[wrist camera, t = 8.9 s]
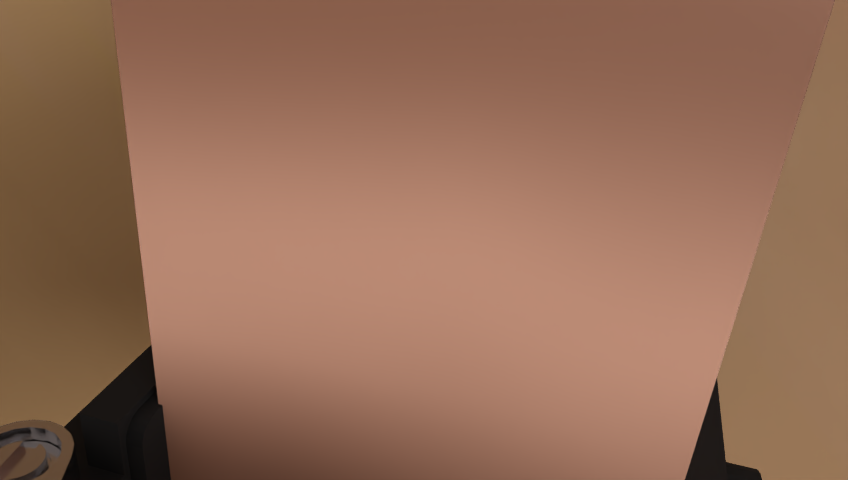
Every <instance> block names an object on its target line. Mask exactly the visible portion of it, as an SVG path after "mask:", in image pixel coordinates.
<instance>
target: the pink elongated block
mask: <svg viewBox="0 0 848 480" xmlns="http://www.w3.org/2000/svg"><path fill="white" fill-rule="evenodd" d="M834 2H835V0H111V5H112V14H113V22H114V31H115V39H116V48H117V56H118V65H119V73H120V82H121V90H122V99H123V107H124V116H125V124H126V133H127V141H128V150H129V158H130V167H131V175H132V184H133V192H134V201H135V209H136V218H137V226H138V235H139V243H140V252H141V260H142V269H143V277H144V286H145V294H146V303H147V311H148V320H149V328H150V337H151V345H152V354H153V362H154V371H155V379H156V388H157V396H158V404H160V405H162V406H163V415H164V423H165V432H166V441H167V450H168V458H169V467H170V476H171V480H685V477H686V474H687V471H688V468H689V465H690V462H691V458H692V455H693V452H694V449H695V446H696V442H697V439H698V436H699V433H700V430H701V426H702V423H703V420H704V417H705V414H706V410H707V407H708V404H709V401H710V398H711V394H712V391H713V388H714V385H715V382H716V379H717V375H718V372H719V369H720V366H721V363H722V359H723V356H724V353H725V350H726V347H727V343H728V340H729V337H730V334H731V331H732V327H733V324H734V321H735V318H736V315H737V311H738V308H739V305H740V302H741V299H742V295H743V292H744V289H745V286H746V283H747V280H748V276H749V273H750V270H751V267H752V264H753V260H754V257H755V254H756V251H757V248H758V244H759V241H760V238H761V235H762V232H763V228H764V225H765V222H766V219H767V216H768V212H769V209H770V206H771V203H772V200H773V197H774V193H775V190H776V187H777V184H778V181H779V177H780V174H781V171H782V168H783V165H784V161H785V158H786V155H787V152H788V149H789V145H790V142H791V139H792V136H793V133H794V129H795V126H796V123H797V120H798V117H799V113H800V110H801V107H802V104H803V101H804V98H805V94H806V91H807V88H808V85H809V82H810V78H811V75H812V72H813V69H814V66H815V62H816V59H817V56H818V53H819V50H820V46H821V43H822V40H823V37H824V34H825V30H826V27H827V24H828V21H829V18H830V15H831V11H832V8H833V5H834Z"/></svg>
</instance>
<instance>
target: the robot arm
mask: <svg viewBox="0 0 848 480" xmlns="http://www.w3.org/2000/svg"><path fill="white" fill-rule="evenodd" d="M0 480H171V476H170V467H169V458H168V450H167V441H166V432H165V423H164V415H163V406H162V405H160V404H158V396H157V388H156V379H155V371H154V362H153V354H152V345H151V346H150V347H148V348H147V349H146V350H145V351H144V352H143V353H142V354H141V355H140V356H139V357H138V358H137V359H136V360H135V361H134V362H133V363H131V364H130V365H129V366H128V367H127V368H126V369H125V370H124V371H123V372H122V373H121V374H120V375H119V376H118V377H117V378H116V379H114V380H113V381H112V382H111V383H110V384H109V385H108V386H107V387H106V388H105V389H104V390H103V391H102V392H101V393H100V394H99V395H97V396H96V397H95V398H94V399H93V400H92V401H91V402H90V403H89V404H88V405H87V406H86V407H85V408H84V409H83V410H82V411H80V412H79V413H78V414H77V415H76V416H75V417H74V418H73V419H72V420H71V421H70V422H69V423H68V424H67V425H66V426H65V427H63V426H61V425H59V424H56V423H53V422H51V421H42V420H28V421H18V422H14V423H10V424H7V425H3V426H0ZM685 480H762V478H761V474H760V472H759V471H758V470H757V469H753V468H749V467H744V466H740V465H736V464H732V463H728V462H726V460H725V451H724V441H723V432H722V422H721V413H720V403H719V394H718V384H717V379H716V382H715V385H714V388H713V391H712V394H711V398H710V401H709V404H708V407H707V410H706V414H705V417H704V420H703V423H702V426H701V430H700V433H699V436H698V439H697V442H696V446H695V449H694V452H693V455H692V458H691V462H690V465H689V468H688V471H687V474H686V477H685Z"/></svg>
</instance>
